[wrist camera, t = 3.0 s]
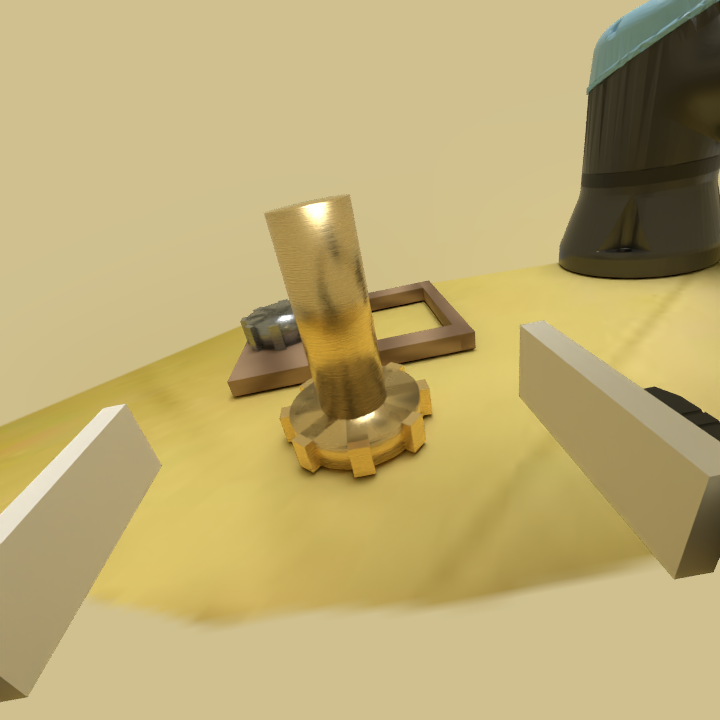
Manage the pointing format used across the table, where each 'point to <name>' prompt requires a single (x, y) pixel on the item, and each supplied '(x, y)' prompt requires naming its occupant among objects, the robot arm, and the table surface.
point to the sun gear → (271, 327)
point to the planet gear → (340, 347)
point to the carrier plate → (455, 336)
